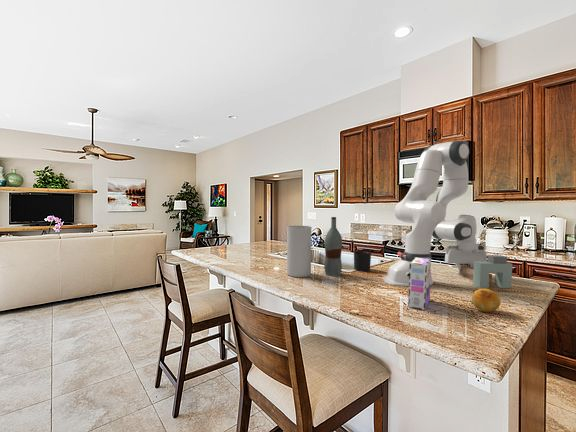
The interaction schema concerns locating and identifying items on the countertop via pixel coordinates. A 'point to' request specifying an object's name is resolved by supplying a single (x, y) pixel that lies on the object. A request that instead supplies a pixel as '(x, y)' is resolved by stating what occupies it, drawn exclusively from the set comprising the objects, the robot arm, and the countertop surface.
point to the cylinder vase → (299, 251)
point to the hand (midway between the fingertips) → (464, 271)
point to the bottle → (333, 250)
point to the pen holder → (362, 260)
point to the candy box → (419, 283)
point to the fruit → (486, 300)
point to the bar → (471, 273)
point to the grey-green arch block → (496, 266)
